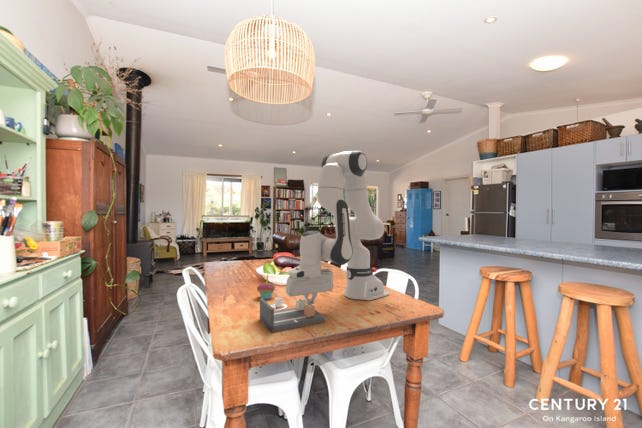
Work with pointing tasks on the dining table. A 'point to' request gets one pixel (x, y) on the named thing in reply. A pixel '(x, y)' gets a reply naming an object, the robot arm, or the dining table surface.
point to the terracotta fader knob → (309, 310)
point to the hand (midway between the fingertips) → (310, 304)
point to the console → (286, 318)
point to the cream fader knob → (300, 304)
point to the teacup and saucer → (278, 303)
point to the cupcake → (266, 289)
